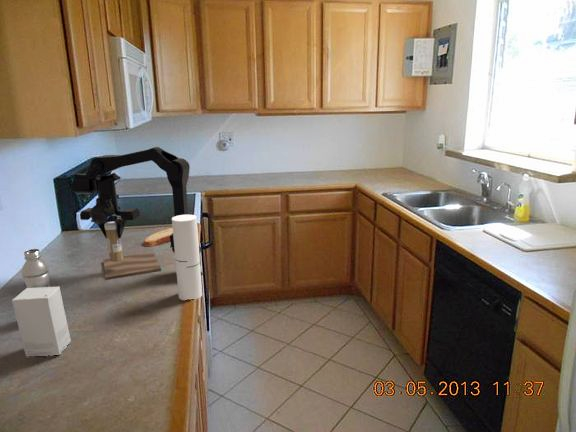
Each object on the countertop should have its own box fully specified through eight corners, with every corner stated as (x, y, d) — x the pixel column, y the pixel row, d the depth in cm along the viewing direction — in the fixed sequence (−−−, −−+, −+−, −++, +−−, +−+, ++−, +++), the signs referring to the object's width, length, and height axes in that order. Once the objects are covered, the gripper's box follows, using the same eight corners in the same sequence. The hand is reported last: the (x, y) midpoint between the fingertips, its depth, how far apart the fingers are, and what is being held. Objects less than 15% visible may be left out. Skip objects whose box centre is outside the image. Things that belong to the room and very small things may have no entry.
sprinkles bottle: (121, 261, 146) (116, 224, 142) (107, 262, 145) (102, 225, 142) (125, 257, 150) (120, 220, 146) (112, 257, 150) (106, 221, 146)
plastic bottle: (29, 326, 114) (15, 257, 108) (32, 315, 120) (19, 249, 114) (56, 321, 116) (44, 253, 111) (58, 310, 122) (46, 245, 117)
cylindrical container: (182, 290, 135) (175, 214, 128) (204, 290, 134) (199, 214, 127) (175, 300, 128) (168, 221, 121) (199, 300, 127) (193, 221, 121)
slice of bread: (141, 248, 173) (140, 239, 172) (147, 234, 190) (146, 226, 189) (186, 245, 176) (186, 236, 175) (188, 232, 193) (188, 224, 192)
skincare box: (71, 342, 107) (62, 285, 102) (59, 357, 100) (48, 298, 96) (38, 343, 106) (26, 286, 102) (23, 358, 100) (10, 299, 96)
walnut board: (161, 270, 150) (160, 267, 150) (106, 280, 143) (105, 277, 142) (153, 254, 166) (153, 251, 165) (103, 262, 158) (103, 259, 158)
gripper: (66, 199, 135) (74, 245, 139) (121, 199, 133) (128, 246, 137) (86, 191, 145) (93, 234, 150) (137, 191, 143) (143, 235, 147)
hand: (113, 238), depth 146 cm, fingers closed on sprinkles bottle, 4 cm apart
